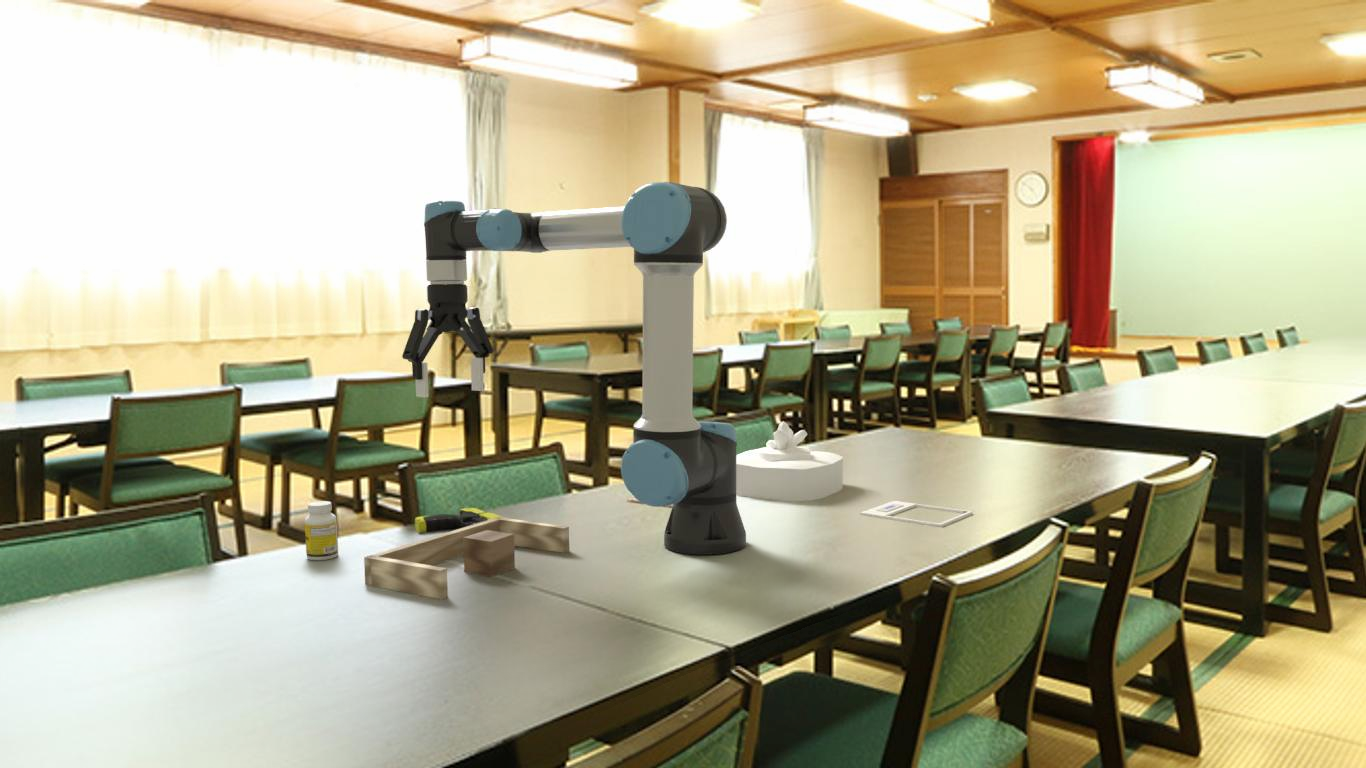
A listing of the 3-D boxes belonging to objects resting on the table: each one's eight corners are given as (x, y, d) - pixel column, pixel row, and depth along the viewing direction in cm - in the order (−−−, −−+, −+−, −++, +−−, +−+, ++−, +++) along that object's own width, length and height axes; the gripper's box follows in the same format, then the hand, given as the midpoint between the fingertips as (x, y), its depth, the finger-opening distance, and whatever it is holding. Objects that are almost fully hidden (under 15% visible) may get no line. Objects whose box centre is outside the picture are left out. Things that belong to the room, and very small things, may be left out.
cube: (514, 568, 180) (514, 534, 179) (491, 577, 175) (490, 541, 174) (487, 563, 183) (487, 530, 182) (464, 572, 178) (463, 537, 177)
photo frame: (894, 499, 229) (972, 510, 217) (894, 504, 229) (972, 515, 218) (860, 511, 218) (940, 523, 206) (860, 516, 218) (940, 529, 206)
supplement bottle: (310, 553, 190) (308, 500, 190) (341, 552, 191) (339, 499, 190) (302, 561, 185) (300, 506, 184) (334, 560, 186) (331, 506, 185)
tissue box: (854, 485, 250) (854, 418, 248) (808, 504, 229) (808, 431, 227) (761, 475, 263) (761, 412, 262) (710, 493, 242) (709, 424, 241)
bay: (569, 551, 191) (568, 526, 190) (440, 599, 162) (440, 570, 162) (498, 540, 199) (498, 517, 198) (365, 584, 171) (364, 557, 170)
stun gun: (450, 534, 194) (521, 522, 203) (407, 515, 209) (476, 505, 218) (450, 549, 194) (522, 536, 204) (408, 530, 210) (476, 519, 219)
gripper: (483, 282, 213) (486, 387, 215) (380, 283, 193) (384, 398, 195) (509, 282, 208) (512, 388, 210) (405, 283, 189) (410, 400, 191)
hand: (450, 393), depth 203 cm, fingers open, 13 cm apart
